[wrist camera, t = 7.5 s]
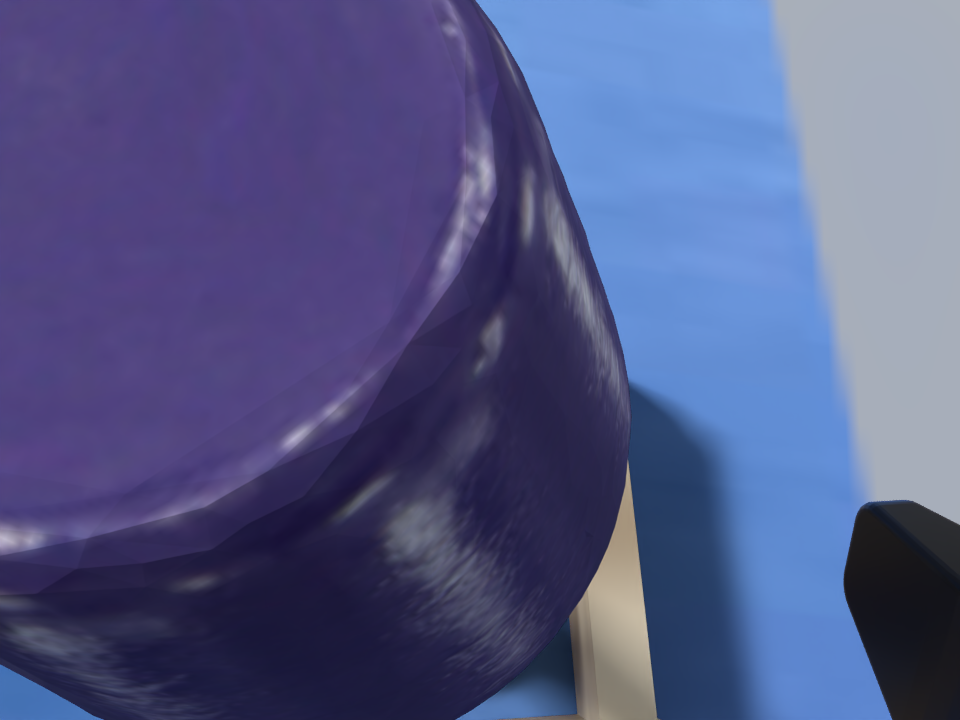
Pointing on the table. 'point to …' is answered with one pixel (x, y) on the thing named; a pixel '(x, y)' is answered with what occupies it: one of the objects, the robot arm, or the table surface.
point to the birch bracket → (613, 634)
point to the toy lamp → (291, 361)
